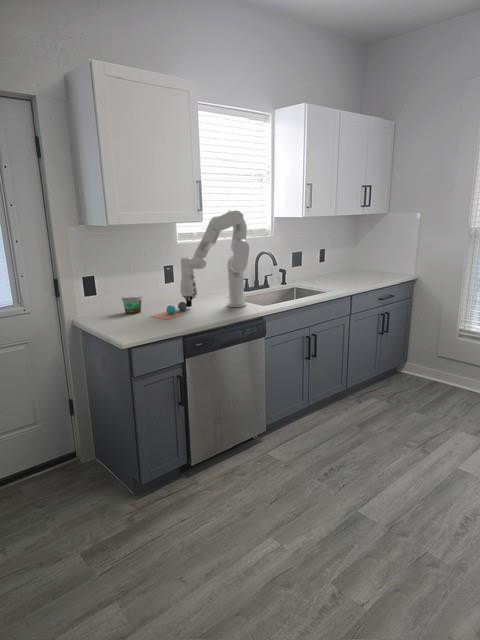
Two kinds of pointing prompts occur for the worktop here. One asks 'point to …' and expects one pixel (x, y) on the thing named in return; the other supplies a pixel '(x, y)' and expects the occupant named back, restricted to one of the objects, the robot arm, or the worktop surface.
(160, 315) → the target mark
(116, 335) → the worktop surface
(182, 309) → the grey ball
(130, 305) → the food container
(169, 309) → the object ball
